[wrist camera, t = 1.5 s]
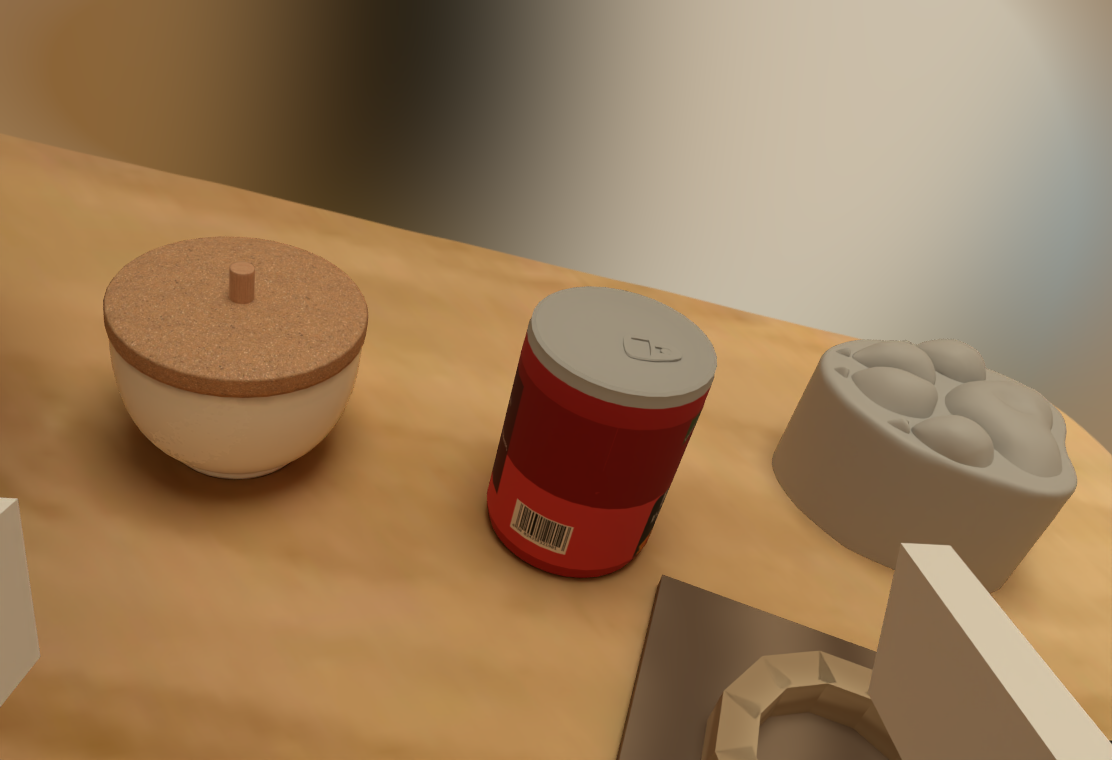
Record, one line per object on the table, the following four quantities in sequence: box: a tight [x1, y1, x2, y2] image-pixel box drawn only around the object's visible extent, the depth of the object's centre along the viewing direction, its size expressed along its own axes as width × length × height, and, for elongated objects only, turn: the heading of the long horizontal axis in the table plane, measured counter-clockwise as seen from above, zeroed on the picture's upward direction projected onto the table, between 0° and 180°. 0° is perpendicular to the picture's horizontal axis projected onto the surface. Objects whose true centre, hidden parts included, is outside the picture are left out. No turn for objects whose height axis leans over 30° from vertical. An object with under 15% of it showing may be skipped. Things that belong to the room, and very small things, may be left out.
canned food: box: [487, 287, 717, 578], centre depth 42 cm, size 8×8×11 cm
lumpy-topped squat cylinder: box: [772, 339, 1077, 593], centre depth 49 cm, size 10×13×9 cm
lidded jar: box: [103, 237, 368, 479], centre depth 42 cm, size 11×11×9 cm
